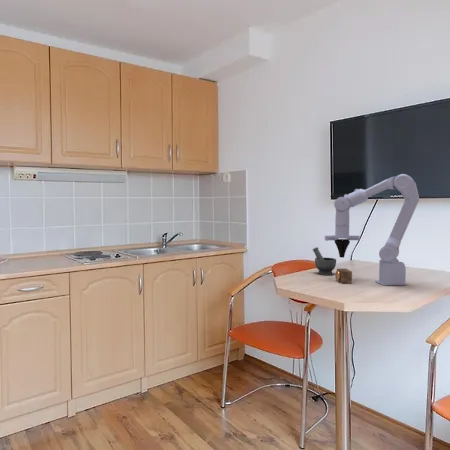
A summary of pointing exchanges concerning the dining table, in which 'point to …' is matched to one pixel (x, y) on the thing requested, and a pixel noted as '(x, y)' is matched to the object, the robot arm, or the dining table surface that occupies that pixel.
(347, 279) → the block
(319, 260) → the mortar and pestle
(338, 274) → the pin
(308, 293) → the dining table surface
